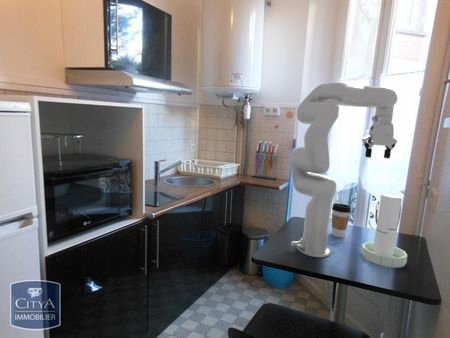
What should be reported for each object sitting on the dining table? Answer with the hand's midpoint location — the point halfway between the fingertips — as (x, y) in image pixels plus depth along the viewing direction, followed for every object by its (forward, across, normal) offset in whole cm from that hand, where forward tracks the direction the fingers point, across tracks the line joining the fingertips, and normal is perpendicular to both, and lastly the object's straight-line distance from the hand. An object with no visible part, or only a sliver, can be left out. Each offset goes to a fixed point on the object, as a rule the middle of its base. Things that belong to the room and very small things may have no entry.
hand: (377, 157), depth 139 cm
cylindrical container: (+38, -9, -23) cm, 45 cm away
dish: (+38, -9, -23) cm, 46 cm away
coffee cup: (+39, -13, +3) cm, 41 cm away
